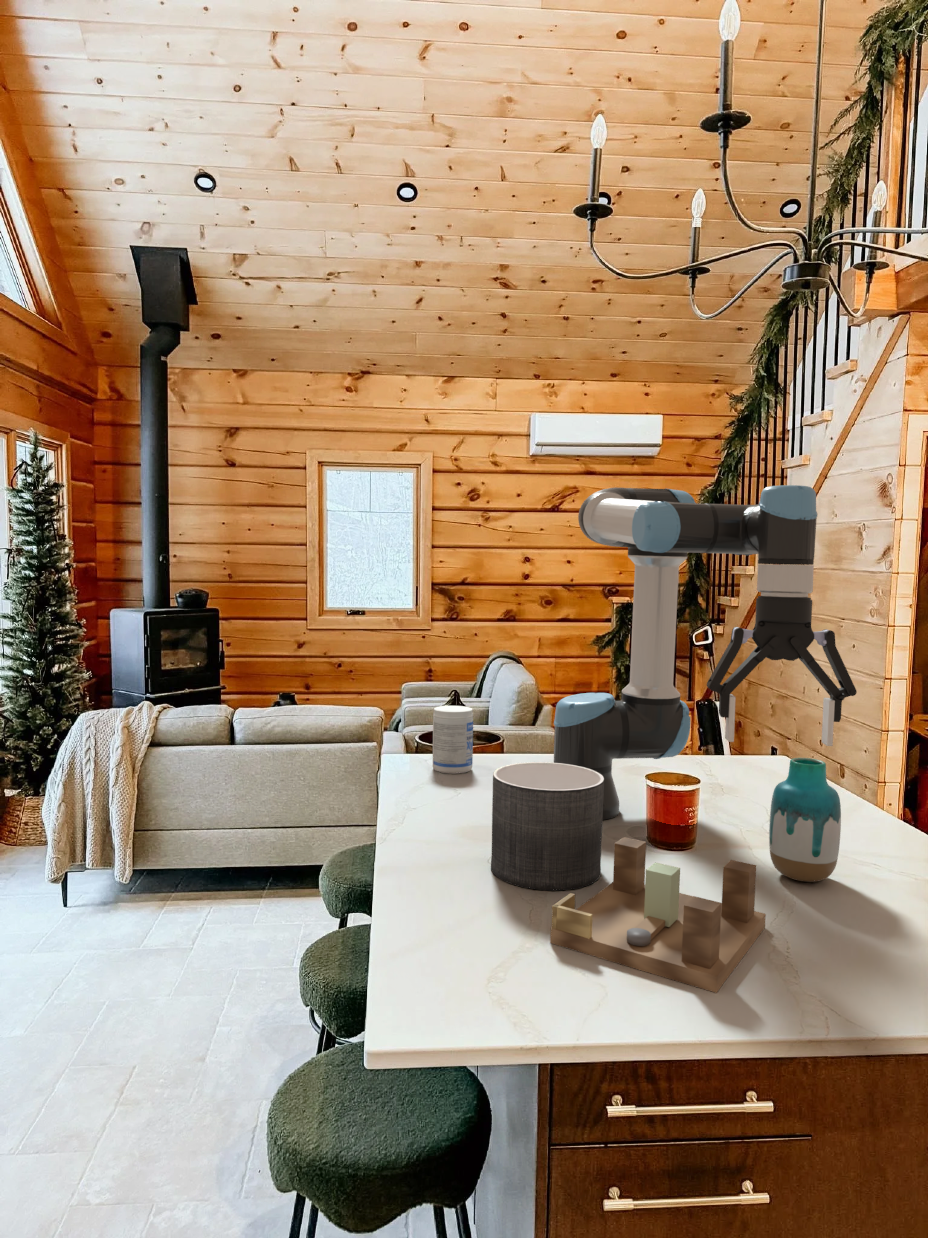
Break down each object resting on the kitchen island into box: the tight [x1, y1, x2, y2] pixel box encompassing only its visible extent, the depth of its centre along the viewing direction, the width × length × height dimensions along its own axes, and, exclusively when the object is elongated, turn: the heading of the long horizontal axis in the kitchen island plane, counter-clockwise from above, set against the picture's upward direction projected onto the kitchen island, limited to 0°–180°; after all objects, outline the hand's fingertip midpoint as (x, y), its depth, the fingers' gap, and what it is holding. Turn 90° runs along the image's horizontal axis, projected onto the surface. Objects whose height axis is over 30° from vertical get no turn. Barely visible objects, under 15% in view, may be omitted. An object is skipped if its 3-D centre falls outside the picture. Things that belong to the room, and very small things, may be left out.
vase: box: [768, 757, 842, 883], centre depth 137 cm, size 11×11×19 cm
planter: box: [490, 761, 604, 891], centre depth 138 cm, size 18×18×16 cm
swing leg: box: [627, 862, 681, 946], centre depth 112 cm, size 4×11×7 cm, turn 147°
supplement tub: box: [432, 705, 474, 775], centre depth 203 cm, size 10×10×15 cm
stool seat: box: [549, 836, 767, 994], centre depth 115 cm, size 22×22×9 cm
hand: (777, 742), depth 124 cm, fingers open, 13 cm apart
